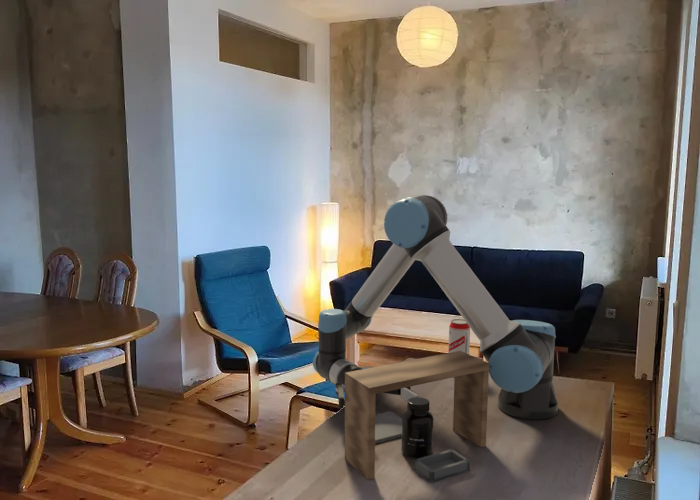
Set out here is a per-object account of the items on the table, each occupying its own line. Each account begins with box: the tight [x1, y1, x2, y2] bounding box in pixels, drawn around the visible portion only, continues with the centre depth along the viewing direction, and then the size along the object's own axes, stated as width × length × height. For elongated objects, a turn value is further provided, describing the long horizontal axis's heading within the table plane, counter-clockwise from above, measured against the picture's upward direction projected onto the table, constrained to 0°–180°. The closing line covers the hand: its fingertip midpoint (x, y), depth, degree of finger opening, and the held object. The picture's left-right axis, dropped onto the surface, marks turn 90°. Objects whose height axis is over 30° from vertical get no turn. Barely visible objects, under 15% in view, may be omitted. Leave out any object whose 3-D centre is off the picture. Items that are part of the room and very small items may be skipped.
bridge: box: [344, 351, 490, 480], centre depth 137 cm, size 10×31×20 cm, turn 119°
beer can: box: [447, 318, 471, 355], centre depth 187 cm, size 6×6×16 cm
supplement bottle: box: [400, 396, 434, 460], centre depth 137 cm, size 7×7×12 cm
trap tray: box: [413, 448, 471, 484], centre depth 130 cm, size 6×10×2 cm, turn 119°
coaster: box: [375, 410, 402, 444], centre depth 150 cm, size 12×12×1 cm
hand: (393, 406), depth 146 cm, fingers open, 13 cm apart
